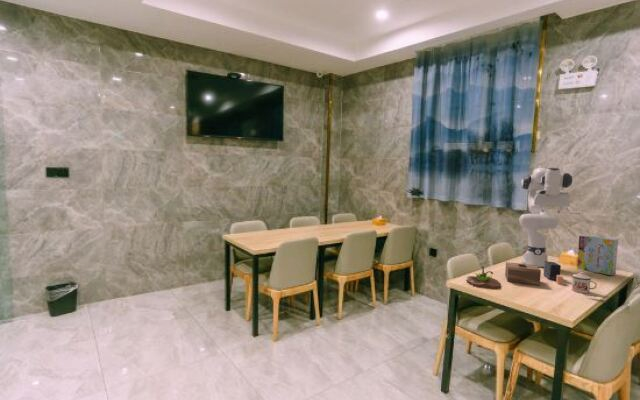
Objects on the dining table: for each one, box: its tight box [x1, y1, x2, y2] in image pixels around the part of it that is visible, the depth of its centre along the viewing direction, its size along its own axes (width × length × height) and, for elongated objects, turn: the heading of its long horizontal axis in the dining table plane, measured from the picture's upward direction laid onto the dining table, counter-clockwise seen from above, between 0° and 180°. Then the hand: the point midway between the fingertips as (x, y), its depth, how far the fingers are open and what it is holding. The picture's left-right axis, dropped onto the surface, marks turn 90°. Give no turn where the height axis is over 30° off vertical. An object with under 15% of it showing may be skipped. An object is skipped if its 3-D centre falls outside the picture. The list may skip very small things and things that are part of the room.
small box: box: [543, 260, 562, 281], centre depth 240 cm, size 11×6×10 cm, turn 168°
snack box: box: [576, 234, 619, 276], centre depth 260 cm, size 22×9×26 cm, turn 34°
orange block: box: [555, 274, 564, 285], centre depth 229 cm, size 5×2×5 cm, turn 158°
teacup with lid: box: [571, 271, 598, 294], centre depth 212 cm, size 12×9×12 cm
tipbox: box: [504, 261, 542, 287], centre depth 232 cm, size 14×18×10 cm
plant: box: [465, 265, 502, 290], centre depth 224 cm, size 20×20×11 cm
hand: (550, 212), depth 239 cm, fingers open, 8 cm apart
